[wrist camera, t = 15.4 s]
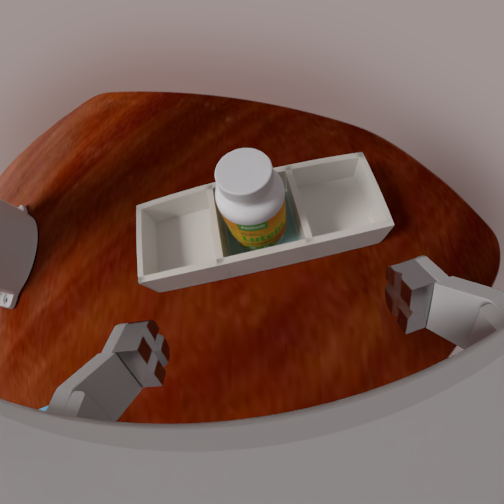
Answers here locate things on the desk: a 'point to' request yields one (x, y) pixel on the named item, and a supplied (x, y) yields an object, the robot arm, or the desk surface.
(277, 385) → the desk surface
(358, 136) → the desk surface
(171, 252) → the well holder
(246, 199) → the supplement bottle
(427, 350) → the desk surface
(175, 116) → the desk surface
